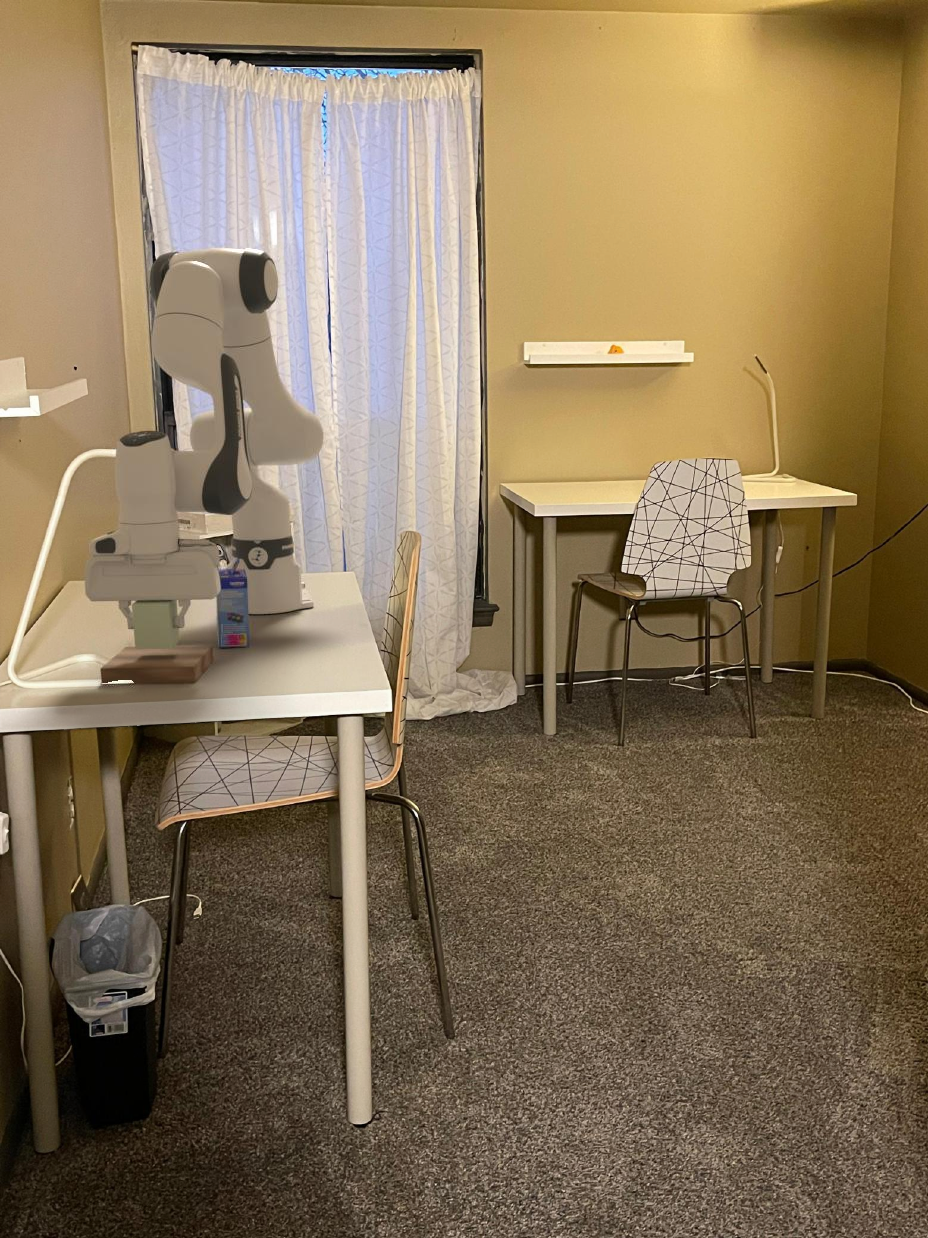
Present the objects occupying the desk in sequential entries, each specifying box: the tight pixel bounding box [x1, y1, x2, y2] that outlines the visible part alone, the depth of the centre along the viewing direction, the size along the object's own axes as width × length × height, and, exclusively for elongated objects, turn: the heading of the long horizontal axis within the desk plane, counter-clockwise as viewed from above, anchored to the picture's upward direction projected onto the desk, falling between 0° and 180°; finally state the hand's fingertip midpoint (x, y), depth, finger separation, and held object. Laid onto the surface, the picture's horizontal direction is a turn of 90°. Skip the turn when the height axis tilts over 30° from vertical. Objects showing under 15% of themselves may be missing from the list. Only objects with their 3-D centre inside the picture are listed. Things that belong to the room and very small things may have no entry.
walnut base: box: [99, 644, 214, 685], centre depth 181 cm, size 14×14×2 cm
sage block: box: [131, 600, 180, 649], centre depth 179 cm, size 6×6×7 cm
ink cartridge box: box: [215, 557, 250, 649], centre depth 199 cm, size 10×6×14 cm, turn 13°
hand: (156, 628), depth 180 cm, fingers closed on sage block, 5 cm apart
